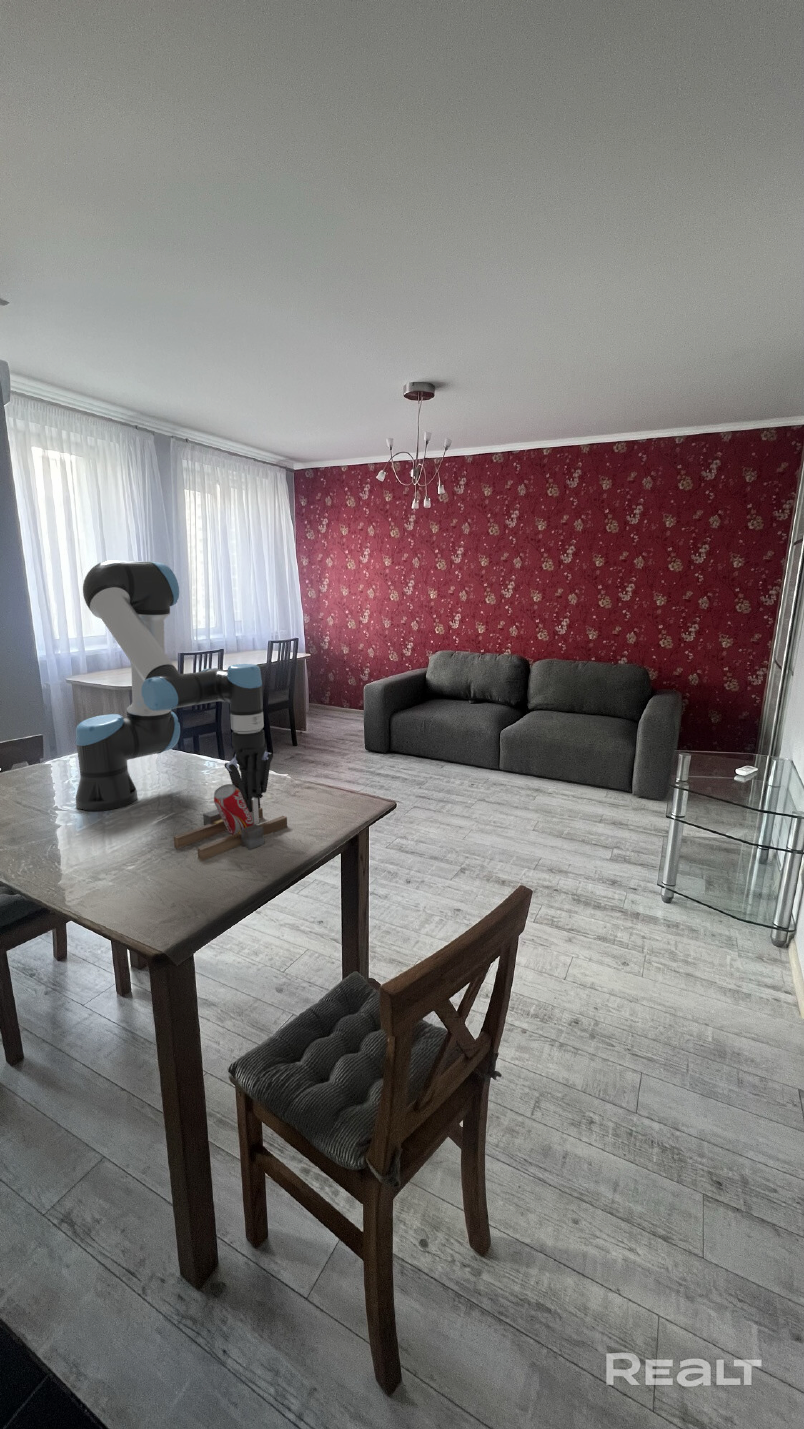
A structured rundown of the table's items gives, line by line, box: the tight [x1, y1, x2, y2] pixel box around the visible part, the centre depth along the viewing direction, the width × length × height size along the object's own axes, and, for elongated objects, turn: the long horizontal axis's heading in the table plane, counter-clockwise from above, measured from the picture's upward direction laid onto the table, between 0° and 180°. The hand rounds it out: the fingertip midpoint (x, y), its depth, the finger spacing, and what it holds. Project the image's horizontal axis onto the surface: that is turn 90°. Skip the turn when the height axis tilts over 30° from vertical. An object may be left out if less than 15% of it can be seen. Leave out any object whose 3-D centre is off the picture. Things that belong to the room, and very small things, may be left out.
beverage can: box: [213, 783, 254, 836], centre depth 139 cm, size 6×6×12 cm
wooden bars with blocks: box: [173, 806, 288, 861], centre depth 141 cm, size 18×24×4 cm
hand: (253, 822), depth 145 cm, fingers closed
